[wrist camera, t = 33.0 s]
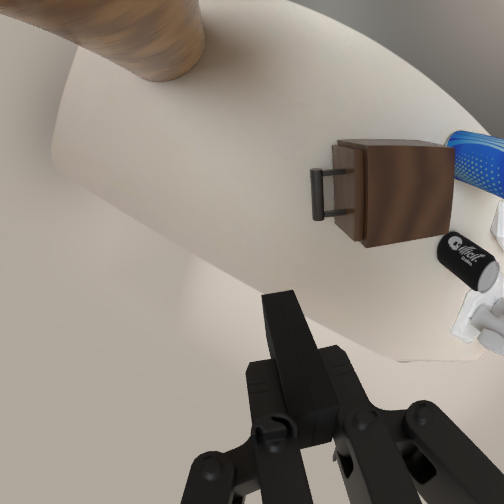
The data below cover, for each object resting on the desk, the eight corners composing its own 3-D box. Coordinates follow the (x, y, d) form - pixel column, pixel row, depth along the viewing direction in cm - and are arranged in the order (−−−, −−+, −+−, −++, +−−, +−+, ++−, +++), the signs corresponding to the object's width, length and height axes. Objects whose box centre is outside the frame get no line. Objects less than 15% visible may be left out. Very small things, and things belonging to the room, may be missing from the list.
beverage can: (430, 260, 43) (471, 295, 33) (442, 226, 41) (488, 256, 30) (450, 264, 45) (489, 296, 34) (463, 233, 42) (505, 261, 31)
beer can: (433, 143, 34) (512, 164, 20) (461, 121, 33) (535, 136, 18) (449, 187, 38) (519, 220, 23) (475, 163, 36) (542, 189, 22)
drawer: (305, 227, 37) (320, 247, 31) (300, 147, 33) (316, 152, 27) (408, 213, 38) (433, 229, 32) (410, 144, 33) (438, 150, 28)
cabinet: (340, 224, 39) (366, 248, 31) (337, 139, 33) (367, 145, 26) (415, 214, 39) (448, 233, 32) (418, 140, 34) (455, 148, 27)
